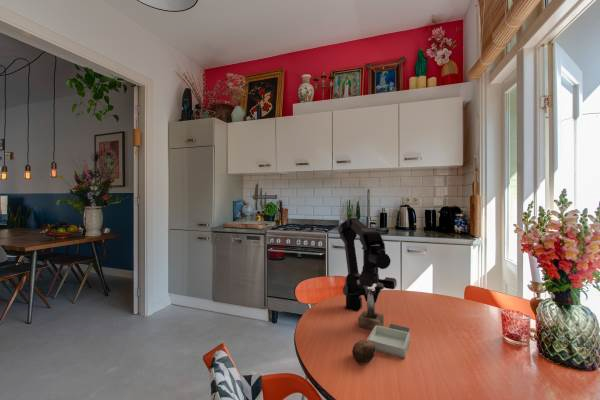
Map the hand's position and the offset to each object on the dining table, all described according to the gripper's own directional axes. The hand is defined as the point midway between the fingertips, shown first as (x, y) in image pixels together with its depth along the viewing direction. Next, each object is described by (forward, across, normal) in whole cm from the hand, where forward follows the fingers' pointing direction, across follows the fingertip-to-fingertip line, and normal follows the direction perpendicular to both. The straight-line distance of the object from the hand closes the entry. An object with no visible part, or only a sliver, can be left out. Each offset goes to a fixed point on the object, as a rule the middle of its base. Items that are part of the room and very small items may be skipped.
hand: (371, 302), depth 107 cm
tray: (+9, +9, -11) cm, 17 cm away
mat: (+9, +10, +1) cm, 14 cm away
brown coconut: (+10, +4, -24) cm, 26 cm away
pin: (+4, 0, 0) cm, 4 cm away
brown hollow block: (+9, 0, 0) cm, 9 cm away
